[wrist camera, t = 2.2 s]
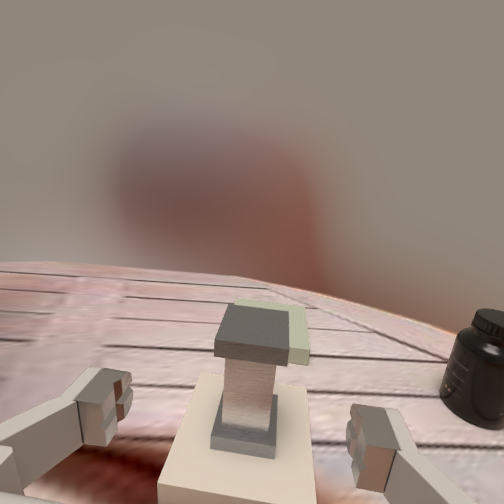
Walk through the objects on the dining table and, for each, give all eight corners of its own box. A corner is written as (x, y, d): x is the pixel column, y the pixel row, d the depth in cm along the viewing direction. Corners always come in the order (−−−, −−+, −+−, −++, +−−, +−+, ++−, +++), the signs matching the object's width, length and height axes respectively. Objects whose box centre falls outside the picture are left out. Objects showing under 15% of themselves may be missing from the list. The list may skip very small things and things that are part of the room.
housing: (210, 448, 25) (214, 339, 21) (223, 398, 30) (228, 303, 26) (274, 459, 24) (289, 349, 21) (276, 406, 29) (288, 311, 26)
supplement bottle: (484, 389, 38) (517, 308, 34) (522, 436, 31) (569, 342, 27) (428, 380, 38) (454, 299, 35) (454, 424, 32) (490, 331, 28)
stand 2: (158, 505, 23) (157, 482, 22) (200, 389, 34) (201, 372, 33) (312, 533, 22) (317, 511, 21) (303, 404, 33) (306, 387, 32)
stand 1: (221, 353, 40) (222, 338, 40) (235, 310, 52) (236, 298, 51) (307, 365, 39) (310, 349, 39) (302, 319, 51) (304, 306, 50)
